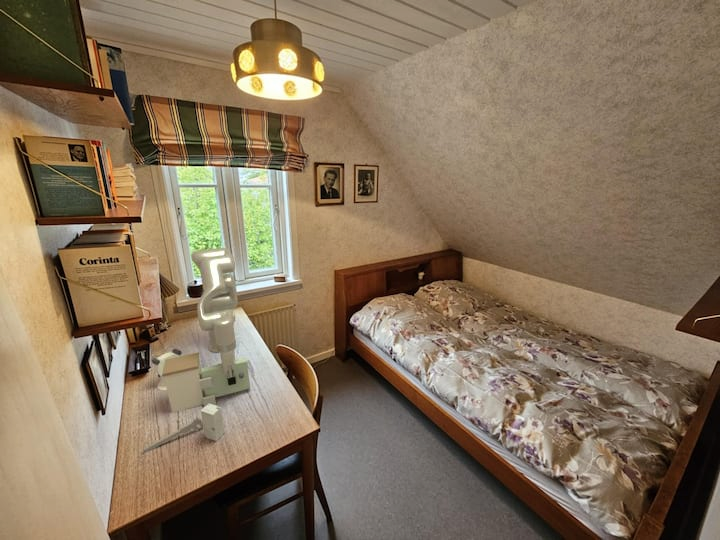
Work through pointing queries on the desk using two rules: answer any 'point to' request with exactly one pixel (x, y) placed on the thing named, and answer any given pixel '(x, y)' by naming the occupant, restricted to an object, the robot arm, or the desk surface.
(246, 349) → the desk surface
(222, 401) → the desk surface
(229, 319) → the robot arm
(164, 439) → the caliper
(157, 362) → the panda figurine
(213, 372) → the door
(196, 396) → the cabinet
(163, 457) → the desk surface
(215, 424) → the skincare box
